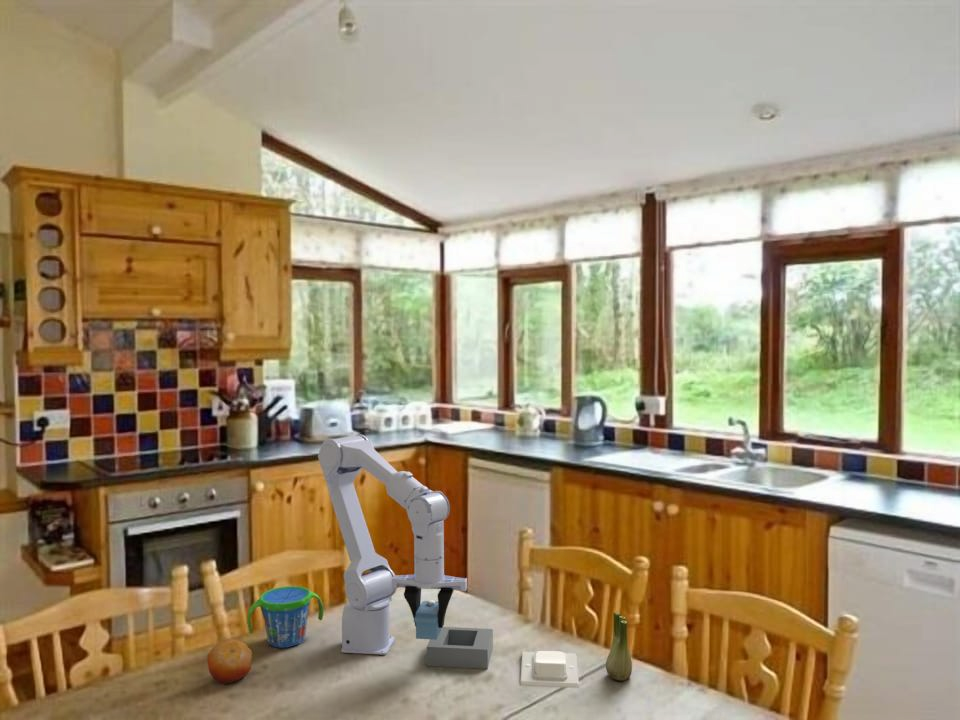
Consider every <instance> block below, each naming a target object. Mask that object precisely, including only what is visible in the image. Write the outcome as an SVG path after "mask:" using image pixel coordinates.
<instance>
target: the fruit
mask: <svg viewBox="0 0 960 720" xmlns="http://www.w3.org/2000/svg"><path fill="white" fill-rule="evenodd" d="M252 658H253V651H252V649H251V648H249V646H248V644H247V643H245V642H243V641H241V640H237V639H234V638H228V639H225V640H222V641H221V642H218V643H217V644H215V645H214V646H213V648H212V649H210V651H209V653H207V656H206V662H207V663H206V664H207V667H208V672H209V673H210V676H211V677H212V678H213V680H214V681H216V682H219V684H221V685H228V684H232V683H234V682H236V681H238V680H240V679H243V678H244V677H246V676H247V675H248V674H249V673H250V672H251V670H252V661H253V659H252Z"/></svg>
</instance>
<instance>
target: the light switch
mask: <svg viewBox="0 0 960 720" xmlns="http://www.w3.org/2000/svg"><path fill="white" fill-rule="evenodd" d="M579 681H580V680H579V669H578V658H577V654H576V653H575V652H574V653H573V652H564V651H559V650H558V651H556V650H537V651H522V652H521V664H520V680H519V685H520V686H521V687H547V688H549V687H550V688H569V687H570V688H571V689H572V688H574V689H577V688H580V682H579Z"/></svg>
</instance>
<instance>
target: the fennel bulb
mask: <svg viewBox="0 0 960 720" xmlns="http://www.w3.org/2000/svg"><path fill="white" fill-rule="evenodd" d="M612 632H613V634H612V642H611V646H610V650H609V653H608V655H607V657H606V660H605V669H606V670H605V671H606V673H607V674H608V676H610V677H611V678H612V679H613V680H615V681H621V682H622V681H626V680H627V679H629V678H630V677H631V676H632V673H633V672H632V671H633V662H632V657H631V656H632V655H631V652H630V649H629V646H628V621H627V617H625V616H623V615H621V612H620V611H617V610H616V611H613V630H612Z"/></svg>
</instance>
